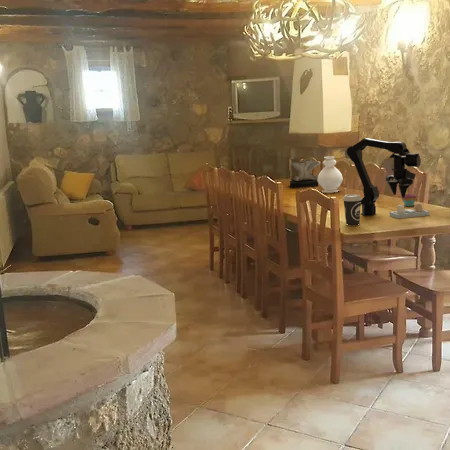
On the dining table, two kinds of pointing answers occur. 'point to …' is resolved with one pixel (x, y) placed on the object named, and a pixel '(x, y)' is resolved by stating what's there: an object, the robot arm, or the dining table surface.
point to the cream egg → (400, 209)
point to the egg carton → (409, 214)
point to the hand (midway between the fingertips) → (398, 196)
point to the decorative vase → (329, 176)
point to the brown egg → (418, 207)
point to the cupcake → (409, 199)
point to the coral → (304, 174)
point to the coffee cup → (352, 208)
